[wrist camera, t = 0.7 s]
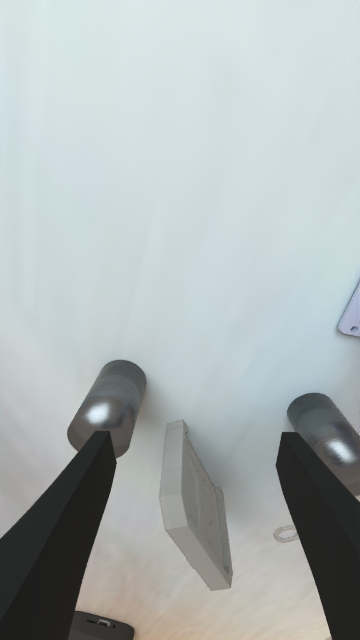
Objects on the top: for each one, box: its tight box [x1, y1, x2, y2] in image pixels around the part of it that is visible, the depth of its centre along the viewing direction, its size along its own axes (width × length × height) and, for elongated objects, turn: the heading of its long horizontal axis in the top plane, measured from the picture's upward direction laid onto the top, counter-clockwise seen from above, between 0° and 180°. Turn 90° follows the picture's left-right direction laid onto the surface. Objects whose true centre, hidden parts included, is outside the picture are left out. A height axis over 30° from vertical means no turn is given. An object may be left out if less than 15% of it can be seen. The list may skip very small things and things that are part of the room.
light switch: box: [159, 419, 233, 591], centre depth 21 cm, size 2×12×8 cm, turn 23°
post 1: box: [67, 360, 146, 458], centre depth 18 cm, size 4×4×6 cm
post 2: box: [287, 393, 360, 496], centre depth 18 cm, size 4×4×6 cm
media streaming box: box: [68, 611, 134, 640], centre depth 43 cm, size 15×15×3 cm
